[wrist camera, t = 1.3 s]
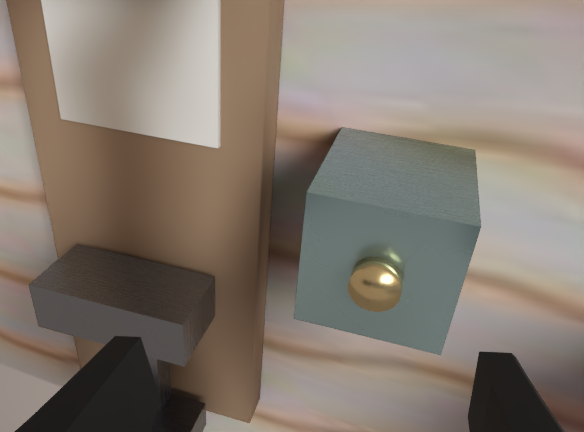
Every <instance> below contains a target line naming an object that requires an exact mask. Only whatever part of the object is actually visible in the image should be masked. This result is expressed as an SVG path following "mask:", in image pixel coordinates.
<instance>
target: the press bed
mask: <svg viewBox="0 0 584 432" xmlns="http://www.w3.org/2000/svg"><path fill="white" fill-rule="evenodd" d="M6 1H7V6H8V11H9V16H10V21H11V26H12V31H13V36H14V41H15V46H16V51H17V56H18V61H19V66H20V71H21V75H22V80H23V85H24V90H25V95H26V100H27V105H28V110H29V115H30V120H31V125H32V130H33V135H34V140H35V145H36V150H37V155H38V160H39V165H40V170H41V175H42V180H43V185H44V190H45V195H46V200H47V205H48V210H49V215H50V220H51V225H52V230H53V235H54V240H55V245H56V250H57V255H58V259H59V258H61V257H62V256H63V255H64V254H65V253H66V252H68V251H69V250H70V249H71V248H72V247H73V246H75V245H76V244H80V245H85V246H89V247H93V248H97V249H101V250H106V251H110V252H114V253H118V254H122V255H126V256H131V257H135V258H139V259H143V260H147V261H151V262H156V263H160V264H164V265H168V266H172V267H177V268H181V269H185V270H189V271H193V272H197V273H202V274H206V275H210V276H214V277H215V317H214V319H213V321H212V322H211V324H210V326H209V327H208V329H207V331H206V332H205V334H204V335H203V337H202V339H201V340H200V342H199V344H198V345H197V347H196V349H195V350H194V352H193V354H192V355H191V357H190V359H189V360H188V362H187V364H186V365H185V367H183V366H180V365H176V364H173V363H170V376H171V391H172V394H176V395H179V396H182V397H186V398H189V399H193V400H196V401H200V402H203V403H206V410H207V411H210V412H213V413H217V414H220V415H224V416H227V417H230V418H234V419H237V420H241V421H244V422H247V423H250V421H251V418H252V416H253V414H254V411H255V409H256V406H257V404H258V401H259V399H260V386H261V370H262V353H263V337H264V321H265V305H266V289H267V272H268V256H269V240H270V224H271V208H272V192H273V175H274V159H275V143H276V127H277V111H278V94H279V78H280V62H281V46H282V30H283V13H284V0H6ZM74 339H75V344H76V349H77V354H78V359H79V364H80V369H82V368H83V367H84V366H85V365H86V364H87V363H88V362H89V361H90V360H91V359H92V358H93V357H94V356H95V355H96V354H97V353H98V352H99V351H100V350H101V349H102V348H103V347H104V346H105V345H104V344H101V343H97V342H94V341H90V340H87V339H83V338H79V337H76V336H74Z"/></svg>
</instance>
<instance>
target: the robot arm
mask: <svg viewBox="0 0 584 432" xmlns="http://www.w3.org/2000/svg"><path fill="white" fill-rule="evenodd" d="M159 400H160V395H159V392H158V389H157V386H156V383H155V379H154V376H153V373H152V370H151V367H150V364H149V361H148V358H147V355H146V351H145V348H144V345H143V342H142V339H141V337H130V336H114V337H113V338H112V339H111V340H110V341H109V342H108V343H107V344H106V345H105V346H104V347H103V348H102V349H101V350H100V351H99V352H98V353H97V354H96V355H95V356H94V357H93V358H92V359H91V360H90V361H89V362H88V363H87V364H86V365H85V366H84V367H83V368H82V369H81V370H80V371H78V372H77V373H76V374H75V375H74V376H73V377H72V378H71V379H70V380H69V381H68V382H67V383H66V384H65V385H64V386H63V387H62V388H61V389H60V390H59V391H58V392H57V393H56V394H55V395H54V396H53V397H52V398H51V399H50V400H49V401H48V402H46V403H45V404H44V406H42V407H41V408H40V409H39V410H38V411H37V412H36V413H35V414H34V415H33V416H32V417H31V418H29V419H28V420H27V421H26V422H25V423H24V424H23V425H22V426H21V427H19V428H18V429H17V430H16V431H15V432H151V430H152V426H153V423H154V419H155V415H156V412H157V408H158V404H159ZM468 421H469V429H470V432H564V430H563V429H562V428H561V426H560V425H559V423H558V422H557V420H556V419H555V418H554V416H553V415H552V413H551V412H550V410H549V409H548V407H547V406H546V404H545V403H544V401H543V400H542V398H541V397H540V395H539V394H538V392H537V391H536V389H535V388H534V386H533V384H532V383H531V381H530V380H529V378H528V376H527V375H526V373H525V372H524V370H523V368H522V367H521V365H520V363H519V362H518V360H517V358H516V357H515V356H514V355H513V354H512V353H498V352H479V357H478V362H477V368H476V374H475V379H474V385H473V391H472V396H471V402H470V408H469V413H468Z"/></svg>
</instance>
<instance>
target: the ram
mask: <svg viewBox="0 0 584 432" xmlns="http://www.w3.org/2000/svg"><path fill="white" fill-rule="evenodd" d="M29 288H30V292H31V297H32V301H33V305H34V309H35V313H36V317H37V321H38V325H39V326H40V327H44V328H47V329H51V330H54V331H58V332H61V333H65V334H69V335H72V336H76V337H79V338H83V339H87V340H90V341H94V342H97V343H101V344H104V345H106V344H107V343H108V342H109V341H110V340H111V339H112V338H113V337H114V336H130V337H141V339H142V342H143V345H144V348H145V351H146V355H147V358H148V361H149V364H150V367H151V370H152V373H153V376H154V379H155V383H156V386H157V389H158V392H159V395H160V400H159V404H158V408H157V412H156V415H155V419H154V423H153V426H152V430H151V432H202V431H203V429H204V427H205V425H206V403H203V402H200V401H196V400H193V399H189V398H186V397H182V396H179V395H176V394H172V391H171V376H170V363H173V364H176V365H180V366H183V367H185V365H186V364H187V362H188V360H189V359H190V357H191V355H192V354H193V352H194V350H195V349H196V347H197V345H198V344H199V342H200V340H201V339H202V337H203V335H204V334H205V332H206V331H207V329H208V327H209V326H210V324H211V322H212V321H213V319H214V317H215V277H214V276H210V275H206V274H202V273H197V272H193V271H189V270H185V269H181V268H177V267H172V266H168V265H164V264H160V263H156V262H151V261H147V260H143V259H139V258H135V257H131V256H126V255H122V254H118V253H114V252H110V251H106V250H101V249H97V248H93V247H89V246H85V245H80V244H76V245H75V246H73V247H72V248H71V249H70V250H69V251H68V252H66V253H65V254H64V255H63V256H62V257H61V258H59V259H58V260H57V261H56V262H55V263H54V264H52V265H51V266H50V267H49V268H48V269H47V270H45V271H44V272H43V273H42V274H41V275H40V276H38V277H37V278H36V279H35V280H34V281H33V282H31V283H30V284H29Z"/></svg>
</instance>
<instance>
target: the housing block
mask: <svg viewBox="0 0 584 432" xmlns="http://www.w3.org/2000/svg"><path fill="white" fill-rule="evenodd" d="M480 228H481V220H480V206H479V193H478V180H477V167H476V153H475V150H473V149H467V148H461V147H456V146H450V145H444V144H438V143H432V142H426V141H420V140H414V139H409V138H403V137H397V136H391V135H385V134H379V133H373V132H367V131H362V130H356V129H350V128H344V127H342V128H341V130H340V132H339V134H338V136H337V137H336V139H335V141H334V143H333V145H332V147H331V148H330V150H329V152H328V154H327V156H326V158H325V159H324V161H323V163H322V165H321V167H320V168H319V170H318V172H317V174H316V176H315V178H314V179H313V181H312V183H311V185H310V187H309V189H308V190H307V193H306V203H305V212H304V222H303V232H302V242H301V252H300V262H299V272H298V282H297V292H296V302H295V312H294V319H298V320H302V321H306V322H310V323H314V324H318V325H322V326H326V327H330V328H334V329H338V330H342V331H346V332H350V333H354V334H358V335H362V336H366V337H370V338H374V339H378V340H382V341H386V342H390V343H394V344H398V345H402V346H406V347H410V348H414V349H418V350H422V351H426V352H430V353H434V354H439V355H441V352H442V349H443V346H444V343H445V340H446V336H447V333H448V330H449V327H450V324H451V321H452V317H453V314H454V311H455V308H456V305H457V301H458V298H459V295H460V292H461V289H462V286H463V282H464V279H465V276H466V273H467V270H468V267H469V263H470V260H471V257H472V254H473V251H474V247H475V244H476V241H477V238H478V235H479V232H480Z"/></svg>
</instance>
